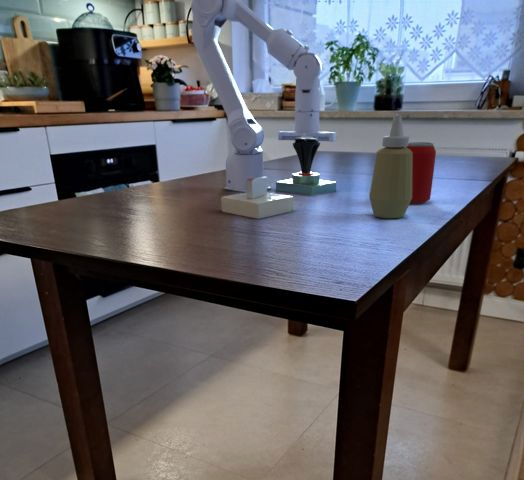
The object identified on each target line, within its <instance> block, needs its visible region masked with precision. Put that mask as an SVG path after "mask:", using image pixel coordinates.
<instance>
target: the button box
mask: <svg viewBox="0 0 524 480" xmlns="http://www.w3.org/2000/svg"><path fill="white" fill-rule="evenodd" d="M291 176H292V178H289V179H284V180H278V181H275V191H277V192H285V193H291V194H298V195H304V196H310V197H311V196H312V197H313V196H317V195H323V194H327V193H333V192H336V191H337V181H332V180H323V179H320V173H318V172H313V175H299V172H294V173H292V175H291Z"/></svg>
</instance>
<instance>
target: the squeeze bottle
mask: <svg viewBox="0 0 524 480" xmlns="http://www.w3.org/2000/svg"><path fill="white" fill-rule="evenodd" d="M409 141H410V137H409V136H406V135H404V129H403V117H402V114H394V115H393V119H392V122H391V126H390V130H389V133H388V135H385V136H382V144H381V146H382V148H379V149H378V150H377V151H376V154H375V160H374V166H373V172H372V178H371V184H370V189H369V195H368V198H369V200H370V205H371V210H372V214H373V216H374V217H377V218H381V219H398V218H399V219H400V218H403V217H404V216H406V213H407V211H408V209H409V206H410V202H411V199H412V161H413V152H412V151H411V150H410V149H407V148H405V147H407V146H408V143H410V142H409Z"/></svg>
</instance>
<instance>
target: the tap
mask: <svg viewBox="0 0 524 480" xmlns="http://www.w3.org/2000/svg"><path fill="white" fill-rule="evenodd" d="M267 187H268V177H267V176H263V177H262V176H261V177H257V178H253V179H252V178H249V179H247V180H246V192H245V193H246V198H248V199H254V198H257V197H260V196H263V195H266V194H267V192H268V189H267Z"/></svg>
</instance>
